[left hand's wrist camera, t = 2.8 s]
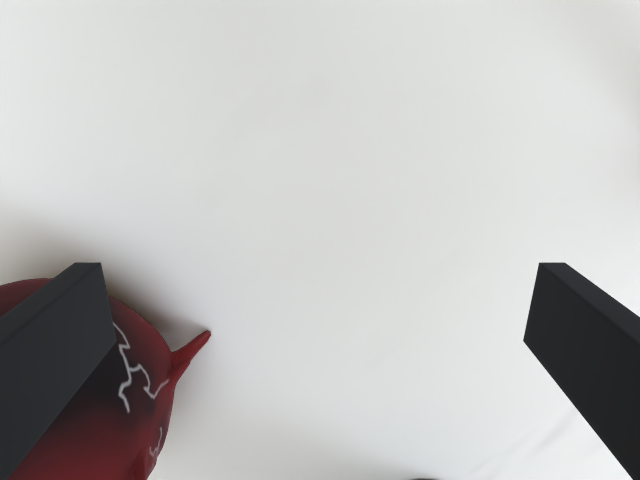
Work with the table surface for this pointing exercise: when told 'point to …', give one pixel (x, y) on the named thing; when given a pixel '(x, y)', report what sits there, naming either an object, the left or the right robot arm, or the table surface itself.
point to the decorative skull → (109, 403)
